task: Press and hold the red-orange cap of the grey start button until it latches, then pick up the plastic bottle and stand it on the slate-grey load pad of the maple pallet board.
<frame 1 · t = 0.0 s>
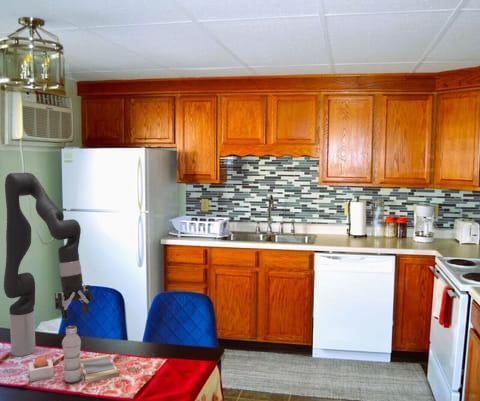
hand: (76, 316, 176), 22 cm above the table, tool pointing down, fingers open, 8 cm apart
pallet board: (98, 369, 182), on the table
button housing: (41, 374, 177), on the table
button cap: (40, 363, 177), point 4 cm above the table, slide at 0.0 cm
plastic bottle: (72, 381, 173), on the table
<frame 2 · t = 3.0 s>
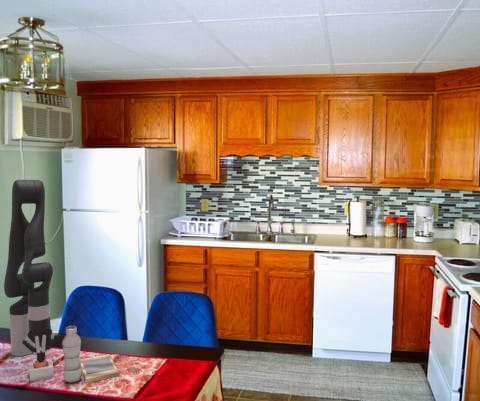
hand: (41, 361, 177), 5 cm above the table, tool pointing down, fingers closed
button cap: (40, 366, 177), point 3 cm above the table, slide at 1.2 cm, touching gripper
everything else where it was.
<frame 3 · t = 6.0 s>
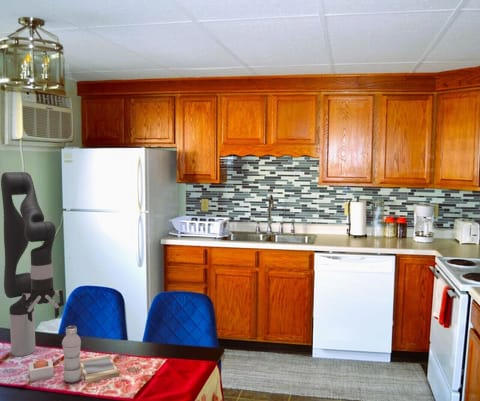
hand: (43, 319, 174), 22 cm above the table, tool pointing down, fingers open, 8 cm apart
button cap: (40, 367, 177), point 3 cm above the table, slide at 1.5 cm, touching button housing
everything else where it was.
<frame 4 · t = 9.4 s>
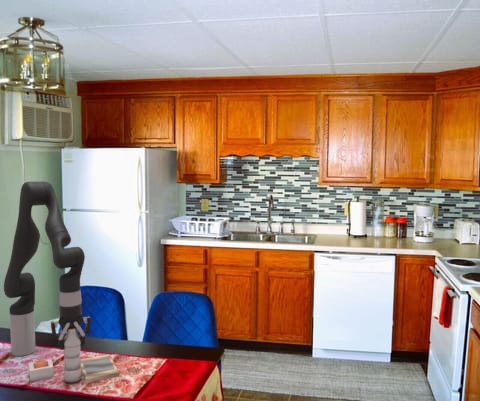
hand: (71, 347, 172), 13 cm above the table, tool pointing down, fingers closed on plastic bottle, 6 cm apart
plastic bottle: (72, 381, 173), on the table, touching gripper
everything else where it was.
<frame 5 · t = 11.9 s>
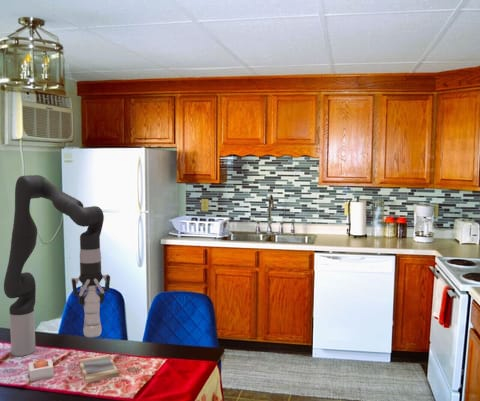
hand: (91, 303, 177), 27 cm above the table, tool pointing down, fingers closed on plastic bottle, 6 cm apart
plastic bottle: (92, 336, 179), point 14 cm above the table, touching gripper
everything else where it was.
when the fingers open (16 cm above the table, at t = 14.7 s): plastic bottle drops 1 cm, resting on pallet board.
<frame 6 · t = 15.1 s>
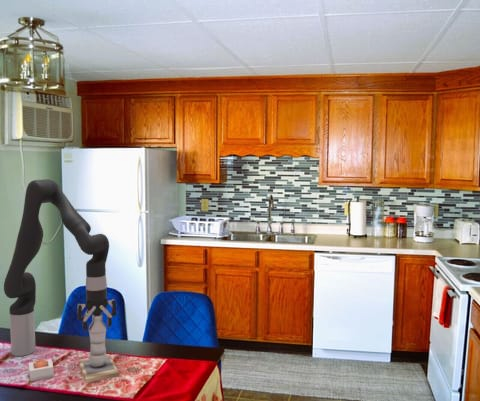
hand: (97, 328, 180), 16 cm above the table, tool pointing down, fingers open, 8 cm apart
plastic bottle: (98, 365, 182), point 2 cm above the table, touching pallet board
everything else where it was.
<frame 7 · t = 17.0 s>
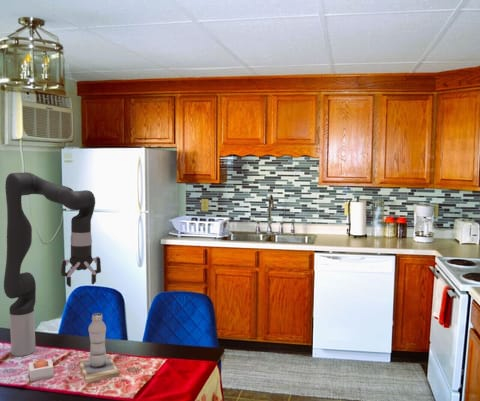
hand: (81, 285, 180), 33 cm above the table, tool pointing down, fingers open, 8 cm apart
nothing on the table moved.
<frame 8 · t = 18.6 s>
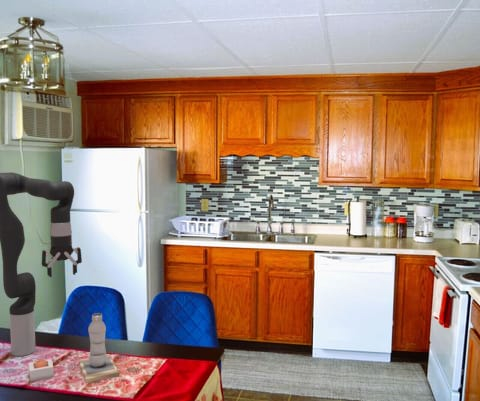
hand: (62, 275, 181), 36 cm above the table, tool pointing down, fingers open, 8 cm apart
nothing on the table moved.
at the end: button cap slide at 1.5 cm; plastic bottle inside the target area on the pallet board (0.0 cm from its centre), point 1.5 cm above the pallet board's base; plastic bottle tilted 0° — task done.
